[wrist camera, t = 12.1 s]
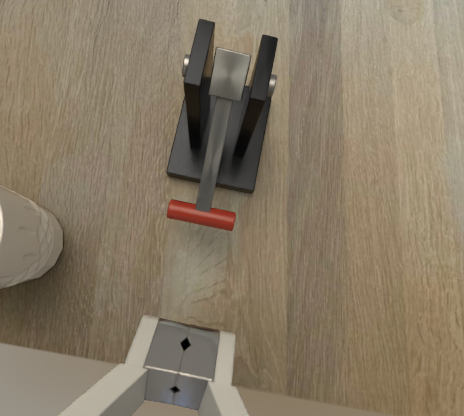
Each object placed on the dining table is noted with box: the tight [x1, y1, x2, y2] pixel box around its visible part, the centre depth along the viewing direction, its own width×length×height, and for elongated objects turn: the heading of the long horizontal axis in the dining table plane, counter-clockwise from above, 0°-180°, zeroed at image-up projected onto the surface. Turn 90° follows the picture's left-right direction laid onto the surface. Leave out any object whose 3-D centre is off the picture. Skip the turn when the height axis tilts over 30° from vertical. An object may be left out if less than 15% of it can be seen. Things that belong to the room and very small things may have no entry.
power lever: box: [167, 47, 251, 231], centre depth 23 cm, size 12×5×2 cm, turn 169°
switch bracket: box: [166, 19, 278, 194], centre depth 25 cm, size 10×8×12 cm
